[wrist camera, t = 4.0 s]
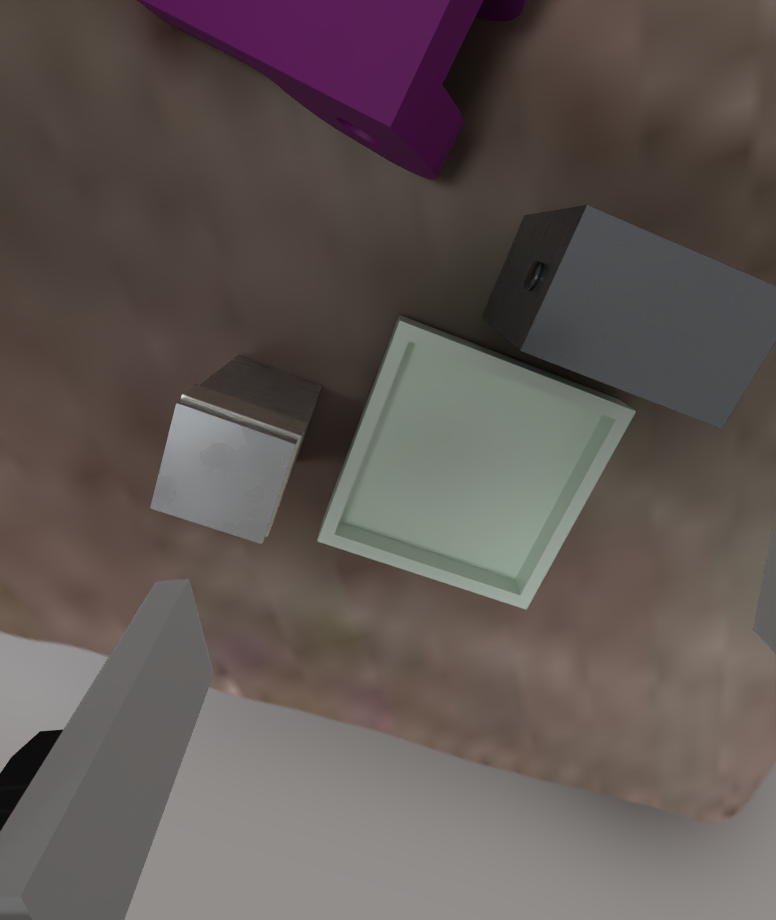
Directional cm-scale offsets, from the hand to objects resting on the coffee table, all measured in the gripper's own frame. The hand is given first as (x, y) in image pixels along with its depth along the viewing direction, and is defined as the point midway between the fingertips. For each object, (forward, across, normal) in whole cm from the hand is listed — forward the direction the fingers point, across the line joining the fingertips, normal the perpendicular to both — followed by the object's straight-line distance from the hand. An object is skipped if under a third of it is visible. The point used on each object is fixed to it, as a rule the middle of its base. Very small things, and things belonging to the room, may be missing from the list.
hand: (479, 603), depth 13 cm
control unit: (+21, +9, +4) cm, 23 cm away
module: (+21, -9, -1) cm, 23 cm away
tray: (+21, +2, -5) cm, 22 cm away
